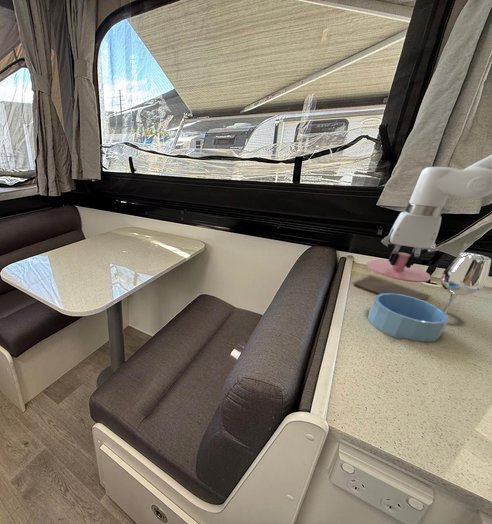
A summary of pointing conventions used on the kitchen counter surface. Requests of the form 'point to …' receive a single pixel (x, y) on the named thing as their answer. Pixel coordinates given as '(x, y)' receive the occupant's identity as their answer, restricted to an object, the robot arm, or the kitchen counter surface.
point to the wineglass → (465, 275)
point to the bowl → (407, 317)
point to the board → (386, 288)
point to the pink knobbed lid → (399, 269)
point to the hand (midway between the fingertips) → (399, 264)
